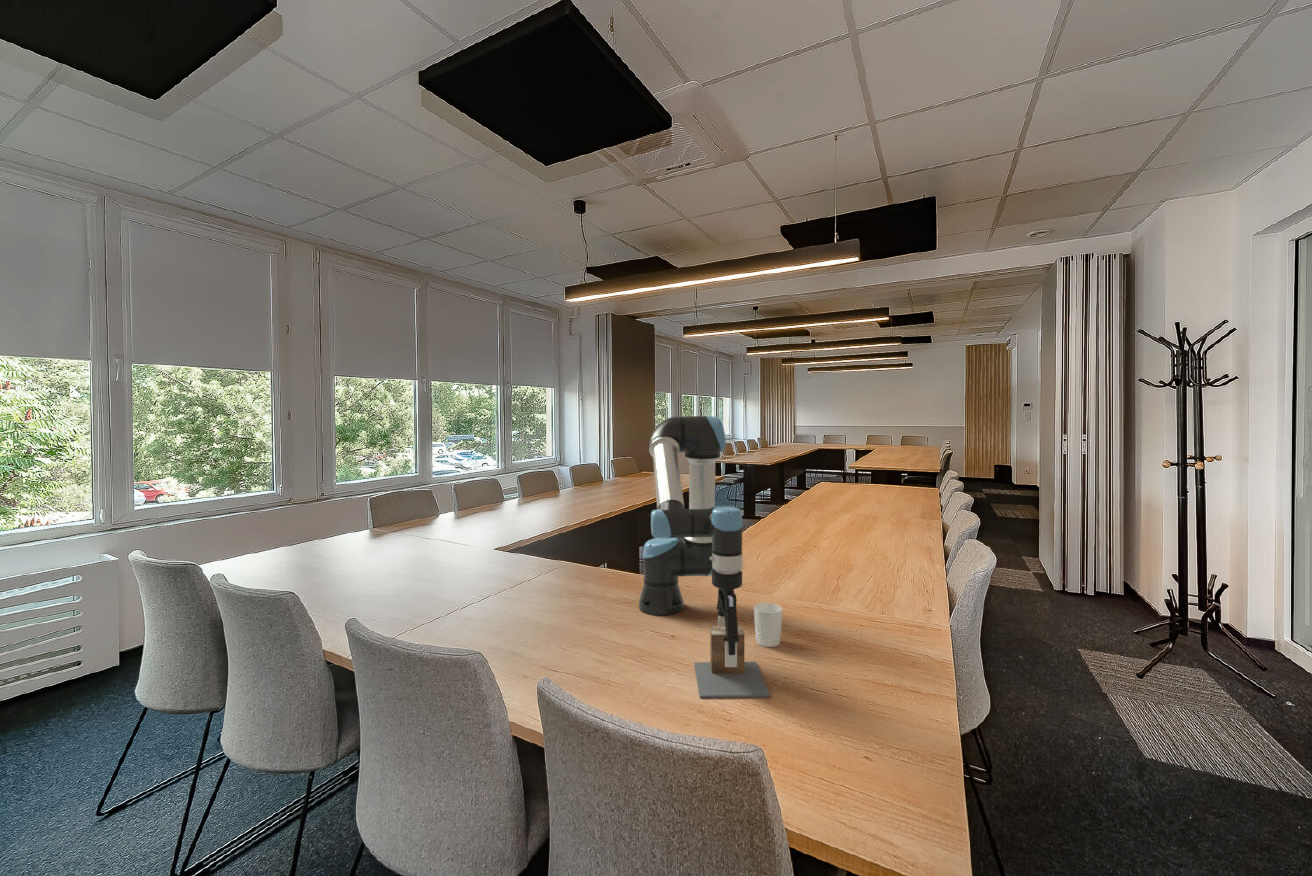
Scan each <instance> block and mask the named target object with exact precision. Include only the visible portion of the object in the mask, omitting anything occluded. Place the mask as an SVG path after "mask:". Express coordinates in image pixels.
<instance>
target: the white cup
mask: <svg viewBox="0 0 1312 876" xmlns="http://www.w3.org/2000/svg"><path fill="white" fill-rule="evenodd" d="M753 615H754V616H753V617H754V618H753V619H754V621H753V622H754V630H755V631H754V632H755V642H756V643H757V645H759V646H762V647H764V648H775V647H778V646H780V644H781V637H782V636H781V635H782V623H783V622H782V621H783V607H782V606H781V605H779V604H777V603H774V602H759V603H756V604H754V606H753Z"/></svg>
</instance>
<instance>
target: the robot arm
mask: <svg viewBox="0 0 1312 876" xmlns="http://www.w3.org/2000/svg"><path fill="white" fill-rule="evenodd" d="M726 441H727V440H726V433H725V428H724V424H723V422H722V420H721V419H720V418H719V417H717V416H711V415H700V416H699V415H698V416H697V415H696V416H692V415H691V416H679V415H678V416H671V417H668V418H666V419H664V420H663V421H661V422H660V423H659V424H658V425H657V426H656V427H655V429H654V430H653V431H652V433H651V435H650V437H649V443H648V451H649V454H650V457H652V459H653V474H654V485H655V487H654V488H655V497H656V509H653V510H651V512H650V527H651V528H650V529H651V530H650V531H651V535H652V537H653V538H651V539H648V540H647V541H646V542H645V543H644V546H643V554H642V557H643V586H642V590H641V592H640V596H639V598H638V609H639V610H640V611H641V612H643V613H645V614H649V615H655V616H667V615H672V614H677V613H679V612H681V611H683V610H684V598H683V595H682V592H681V589H680V586H679V577H709V576H710V577H711V584H712V585H713V587H715V588H716V589H717V588H718V591H717V605H716V609H717V615H718V616H717V627H725V629H726V638H723V641H725V667H737V642H738V641H739V638H738V627H739V625H738V624H739V623H738V612H737V601H738V599H737V594H736V593H735V589H740V588H741V587H742V586H743V571H742V569H743V525H744V520H743V511H742V510H741V509H740V508H738V507H735V506H730V505H729V506H728V505H727V506H726V505H724V506H718V505H715V504H716V502H715V501H716V499H715V498H716V462H717V461H719V459H720V458H721V453H722V452H726V451H725V450H726V445H727V442H726ZM679 453H684V458H685V459H686V460H687V461H688V463H689V469H688V470H689V471H688V473H689V478H688V479H689V481H688V483H689V484H688V487H689V489H688V492H689V493H688V497H689V498H688V500H689V502H688V509H687V508H685V502H684V493H683V486H682V481H681V471H680V465H679V458H678V457H679V456H678V455H679ZM679 538H681V539H682V538H683V539H684V540H682V541H681V540H680V541H679Z"/></svg>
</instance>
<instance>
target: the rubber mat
mask: <svg viewBox="0 0 1312 876" xmlns="http://www.w3.org/2000/svg"><path fill="white" fill-rule="evenodd" d="M693 664H694V670H695V676H696V677H695V678H696V683H697V684H696V685H697V690H698V695H699V699H736V698H737V699H740V698H741V699H742V698H744V699H746V698H747V699H749V698H753V699H755V698H757V699H758V698H762V699H763V698H765V699H767V698H768V699H769V698H771V694H770V692H769V690H768V686H767V685H766V682H765V680H764V677H763V675H762V673H761V669H760V668H759V665H758V664H757V661H744V673H712V670H711V666H710V661H701V662H700V661H697V662H695V661H694V662H693Z"/></svg>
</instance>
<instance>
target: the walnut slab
mask: <svg viewBox="0 0 1312 876" xmlns="http://www.w3.org/2000/svg"><path fill="white" fill-rule="evenodd" d="M709 632H710V633H709V635H710V636H709V639H710V640H709V641H710V642H709V643H710V644H709V646H710V650H709V651H710V655H709V656H710V661H709V662H710V666H711V670H712V673H744V662H745V632H744V630H743V626H738V638H739V641H738V642H737V667H725V641H723V638H726V629H725V627H718V626H710V628H709Z"/></svg>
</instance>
